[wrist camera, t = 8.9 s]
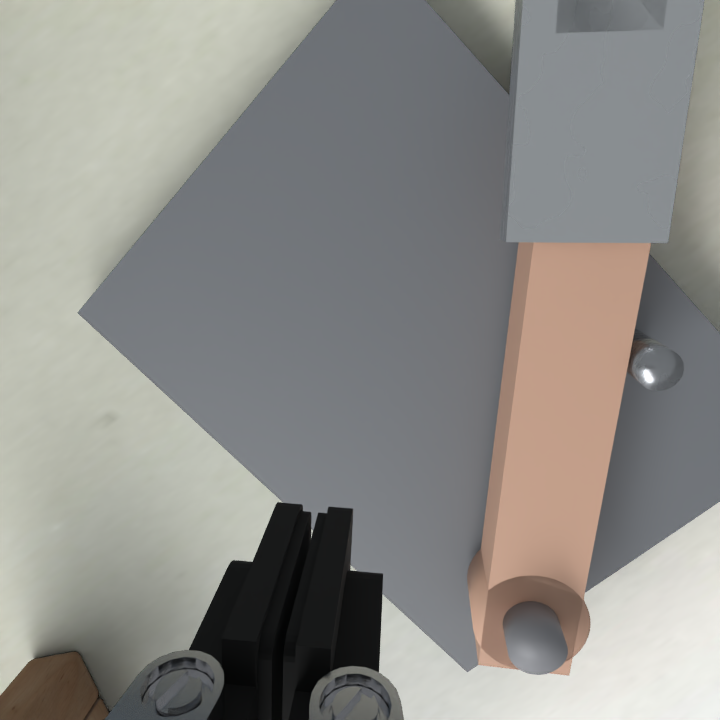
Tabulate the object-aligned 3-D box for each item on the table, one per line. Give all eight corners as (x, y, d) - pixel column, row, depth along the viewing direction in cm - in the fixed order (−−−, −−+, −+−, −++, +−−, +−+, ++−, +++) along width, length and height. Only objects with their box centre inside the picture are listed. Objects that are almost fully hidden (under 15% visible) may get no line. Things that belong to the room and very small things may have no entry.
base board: (95, 306, 28) (77, 312, 26) (381, -36, 22) (379, -52, 21) (465, 650, 31) (467, 672, 30) (790, 425, 26) (813, 438, 24)
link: (563, 627, 28) (590, 706, 23) (462, 616, 28) (470, 691, 24) (656, 115, 21) (717, 93, 17) (521, 110, 21) (546, 88, 17)
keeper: (626, 351, 26) (700, 406, 19) (475, 348, 26) (495, 399, 20) (675, -8, 22) (791, -101, 15) (496, -1, 22) (528, -88, 15)
